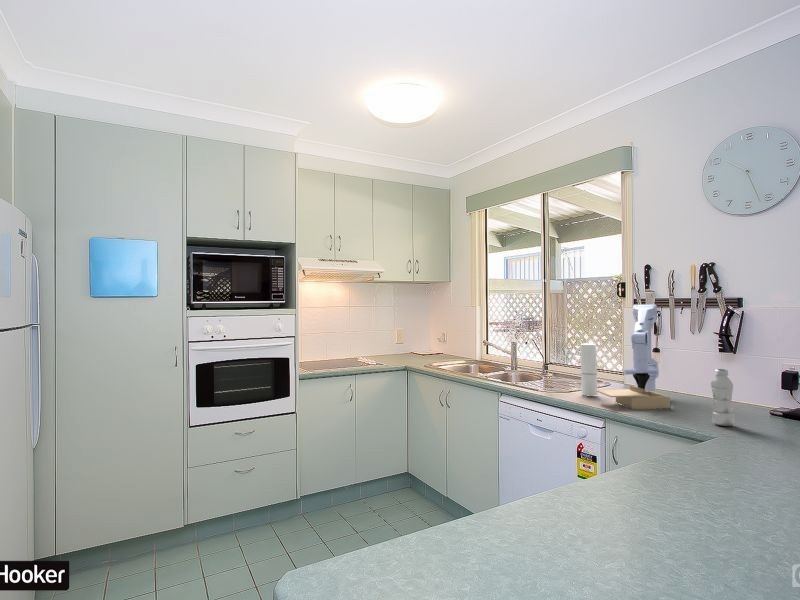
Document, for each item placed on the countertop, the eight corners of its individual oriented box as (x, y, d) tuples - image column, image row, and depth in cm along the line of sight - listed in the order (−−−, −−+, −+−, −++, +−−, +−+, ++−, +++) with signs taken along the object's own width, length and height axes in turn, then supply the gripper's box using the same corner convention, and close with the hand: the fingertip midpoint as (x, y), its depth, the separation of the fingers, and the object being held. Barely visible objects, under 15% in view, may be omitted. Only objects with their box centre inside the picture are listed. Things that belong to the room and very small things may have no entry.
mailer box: (615, 402, 205) (615, 391, 205) (650, 401, 205) (650, 390, 205) (632, 409, 191) (631, 397, 191) (669, 408, 191) (669, 396, 191)
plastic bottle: (738, 428, 159) (737, 371, 160) (717, 427, 161) (715, 370, 161) (729, 423, 166) (727, 368, 166) (708, 423, 167) (707, 368, 167)
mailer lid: (595, 391, 205) (595, 385, 205) (631, 390, 205) (630, 384, 205) (611, 397, 191) (610, 391, 191) (648, 396, 191) (648, 390, 191)
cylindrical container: (594, 394, 226) (593, 343, 226) (599, 396, 219) (598, 344, 219) (579, 394, 226) (578, 343, 227) (584, 396, 219) (582, 344, 220)
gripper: (629, 360, 194) (629, 392, 194) (662, 360, 194) (663, 392, 194) (620, 359, 201) (621, 389, 201) (653, 358, 201) (653, 389, 201)
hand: (641, 390), depth 198 cm, fingers closed
